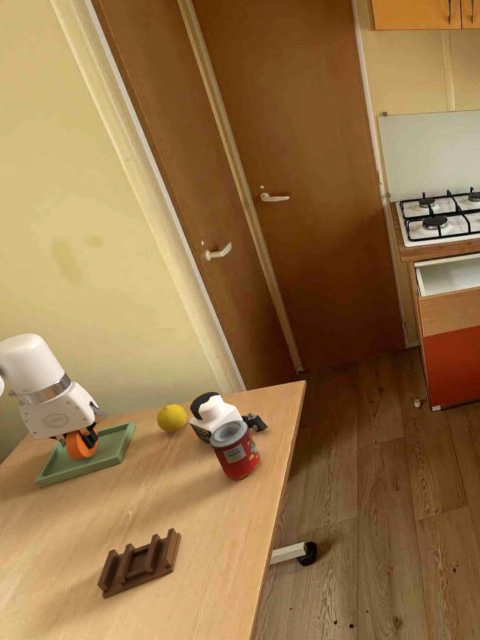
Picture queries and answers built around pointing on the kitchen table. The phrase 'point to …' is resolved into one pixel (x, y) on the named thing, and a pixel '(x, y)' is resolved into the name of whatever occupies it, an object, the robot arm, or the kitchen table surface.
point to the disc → (79, 445)
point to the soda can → (235, 449)
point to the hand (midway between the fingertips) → (85, 445)
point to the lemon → (171, 418)
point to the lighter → (254, 422)
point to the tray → (106, 455)
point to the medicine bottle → (211, 414)
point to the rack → (139, 564)
